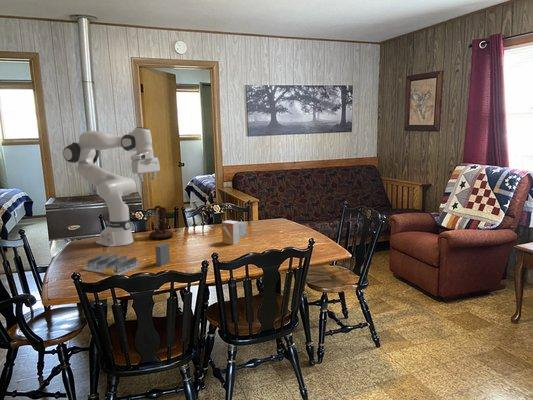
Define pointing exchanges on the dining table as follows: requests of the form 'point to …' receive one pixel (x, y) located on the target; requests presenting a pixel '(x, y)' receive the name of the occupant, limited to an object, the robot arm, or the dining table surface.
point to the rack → (111, 264)
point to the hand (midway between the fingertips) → (147, 180)
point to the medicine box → (242, 229)
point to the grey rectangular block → (162, 254)
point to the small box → (230, 232)
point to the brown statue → (160, 224)
